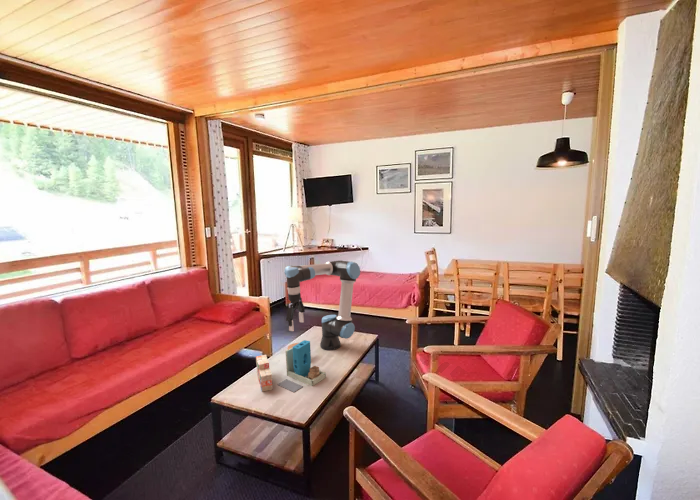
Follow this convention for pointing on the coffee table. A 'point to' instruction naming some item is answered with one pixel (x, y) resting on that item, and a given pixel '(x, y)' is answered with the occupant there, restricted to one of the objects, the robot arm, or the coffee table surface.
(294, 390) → the felt mat
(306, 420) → the coffee table surface
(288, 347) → the lidded bowl
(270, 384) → the stack of blocks
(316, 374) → the offcut stack
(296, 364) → the block
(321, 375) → the frame
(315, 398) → the coffee table surface
